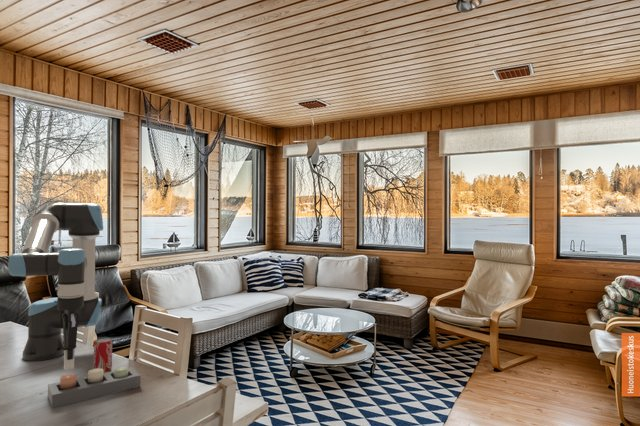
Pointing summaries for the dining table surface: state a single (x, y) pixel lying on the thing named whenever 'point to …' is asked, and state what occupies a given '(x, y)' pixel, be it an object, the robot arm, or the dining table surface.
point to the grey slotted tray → (92, 388)
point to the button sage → (120, 372)
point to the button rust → (68, 381)
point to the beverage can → (103, 354)
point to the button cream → (95, 375)
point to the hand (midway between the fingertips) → (69, 368)
